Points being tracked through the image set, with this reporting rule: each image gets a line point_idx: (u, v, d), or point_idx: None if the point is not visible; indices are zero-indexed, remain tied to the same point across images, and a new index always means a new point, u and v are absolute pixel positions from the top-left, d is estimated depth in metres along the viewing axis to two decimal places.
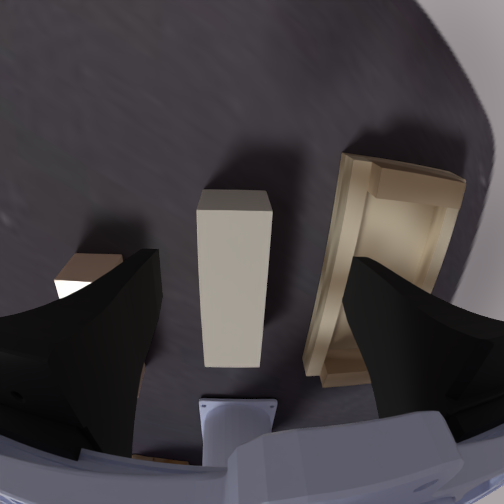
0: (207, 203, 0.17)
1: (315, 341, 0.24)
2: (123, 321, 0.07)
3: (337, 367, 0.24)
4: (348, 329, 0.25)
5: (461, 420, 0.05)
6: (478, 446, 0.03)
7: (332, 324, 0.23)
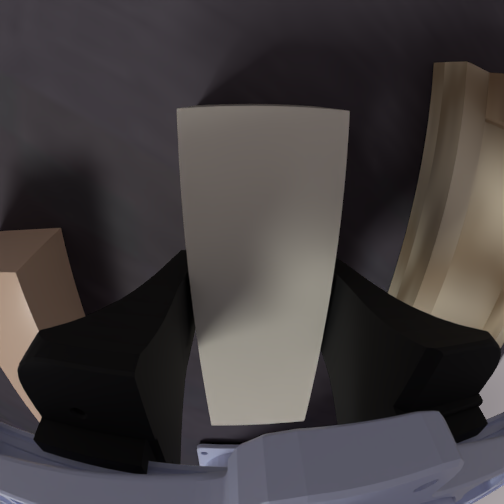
0: (202, 106, 0.07)
1: None
2: (176, 325, 0.08)
3: None
4: None
5: None
6: (478, 446, 0.03)
7: None
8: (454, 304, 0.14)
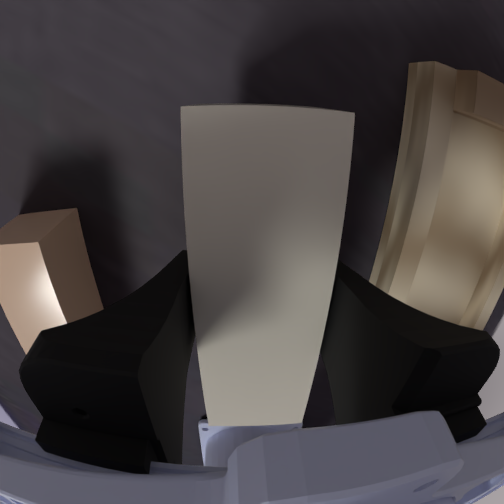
0: None
1: None
2: (178, 325, 0.08)
3: None
4: None
5: None
6: (478, 446, 0.03)
7: None
8: (436, 281, 0.16)
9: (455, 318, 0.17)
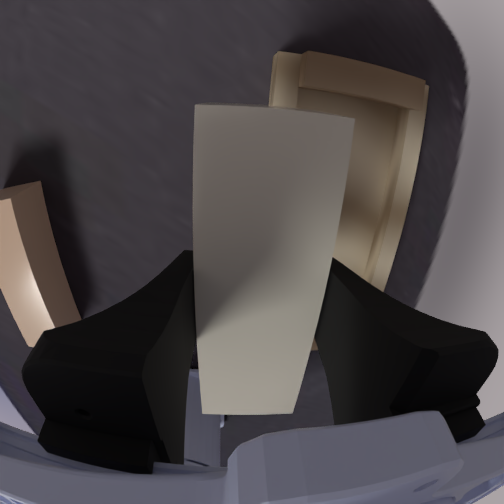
0: (217, 104, 0.08)
1: None
2: (180, 325, 0.08)
3: None
4: None
5: None
6: (478, 446, 0.03)
7: None
8: None
9: None
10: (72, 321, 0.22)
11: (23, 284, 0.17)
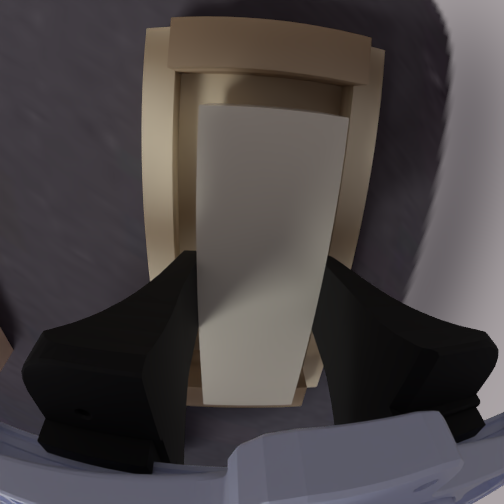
0: (219, 104, 0.08)
1: None
2: (180, 325, 0.08)
3: (201, 378, 0.16)
4: None
5: None
6: (478, 446, 0.03)
7: None
8: None
9: None
10: (0, 352, 0.17)
11: None
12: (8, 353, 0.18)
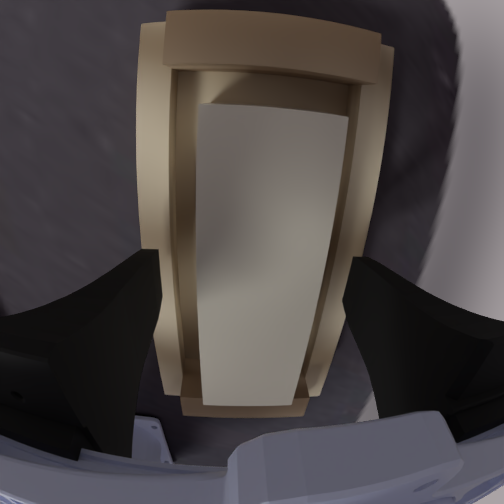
0: None
1: None
2: (123, 321, 0.07)
3: (200, 388, 0.15)
4: None
5: (461, 420, 0.05)
6: (478, 446, 0.03)
7: (170, 317, 0.14)
8: None
9: None
10: None
11: None
12: None
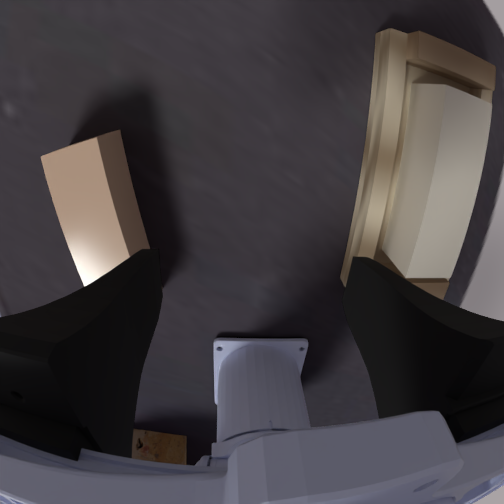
0: None
1: (360, 240, 0.20)
2: (123, 321, 0.07)
3: None
4: None
5: (461, 420, 0.05)
6: (478, 446, 0.03)
7: (380, 216, 0.19)
8: None
9: None
10: None
11: (104, 241, 0.17)
12: None
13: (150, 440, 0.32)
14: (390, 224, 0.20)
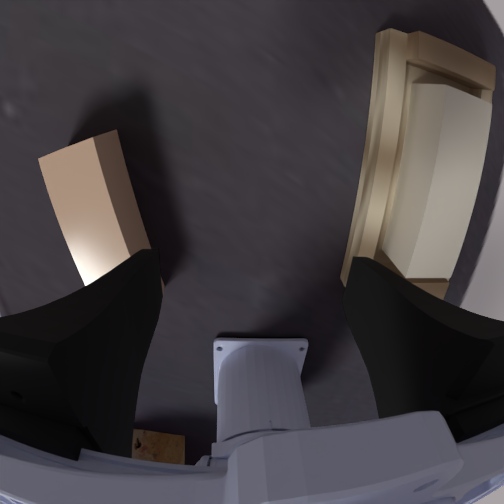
0: None
1: (361, 240, 0.20)
2: (123, 321, 0.07)
3: None
4: None
5: (461, 420, 0.05)
6: (478, 446, 0.03)
7: (380, 216, 0.19)
8: None
9: None
10: None
11: (104, 241, 0.17)
12: (162, 289, 0.23)
13: (149, 440, 0.32)
14: (390, 224, 0.20)
